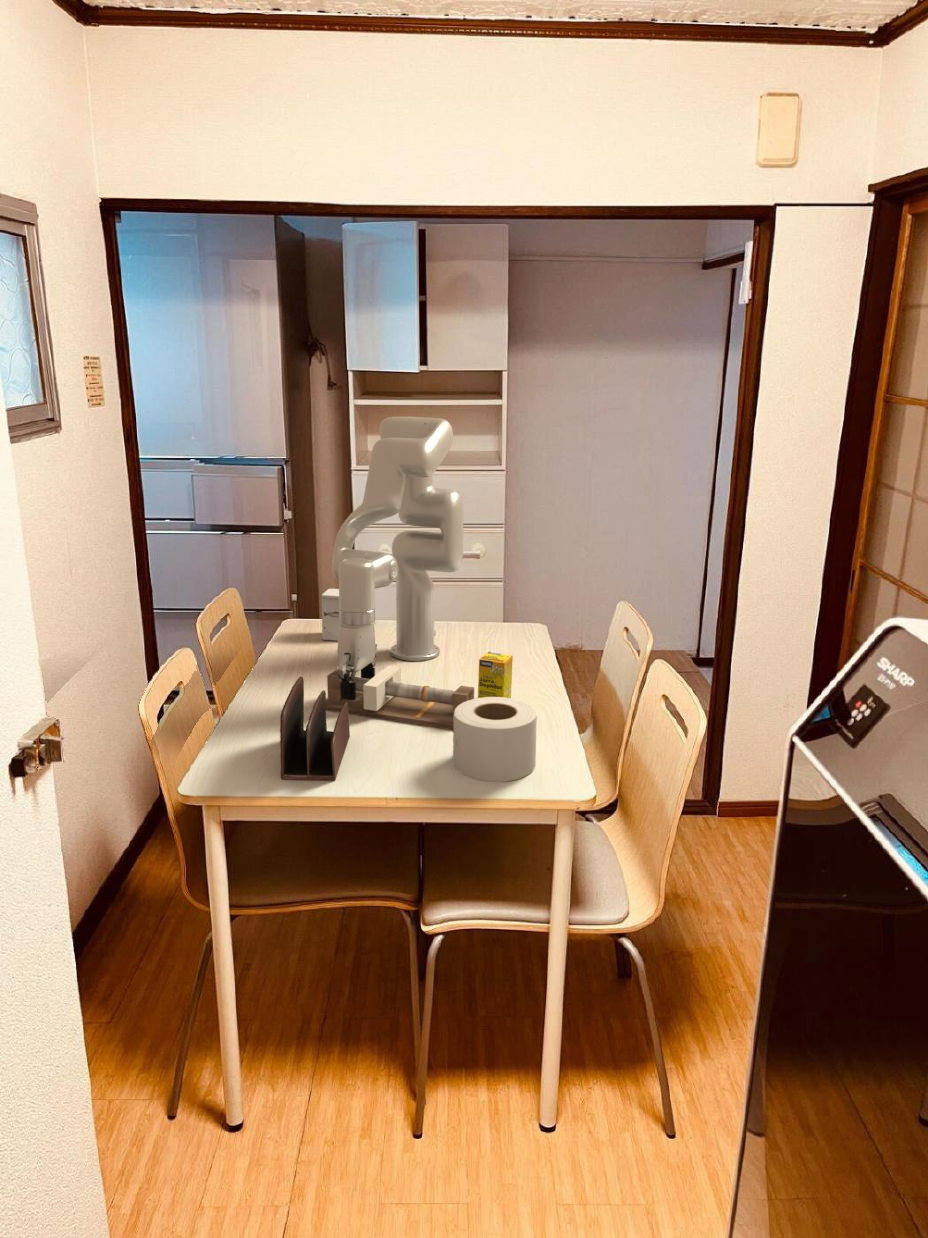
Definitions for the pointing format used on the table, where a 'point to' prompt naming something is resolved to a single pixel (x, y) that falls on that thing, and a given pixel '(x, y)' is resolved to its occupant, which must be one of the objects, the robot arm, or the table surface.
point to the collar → (380, 688)
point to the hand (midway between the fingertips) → (358, 691)
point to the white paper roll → (494, 739)
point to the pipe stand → (403, 702)
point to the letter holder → (311, 738)
